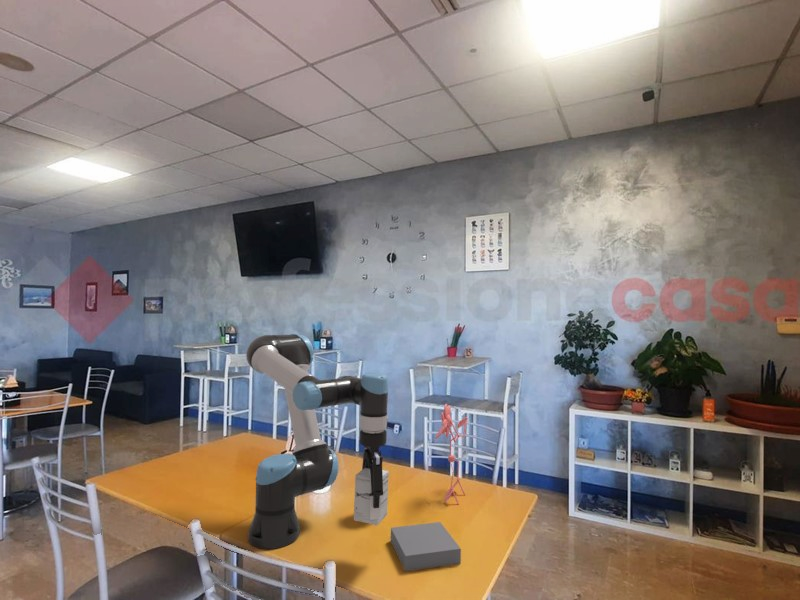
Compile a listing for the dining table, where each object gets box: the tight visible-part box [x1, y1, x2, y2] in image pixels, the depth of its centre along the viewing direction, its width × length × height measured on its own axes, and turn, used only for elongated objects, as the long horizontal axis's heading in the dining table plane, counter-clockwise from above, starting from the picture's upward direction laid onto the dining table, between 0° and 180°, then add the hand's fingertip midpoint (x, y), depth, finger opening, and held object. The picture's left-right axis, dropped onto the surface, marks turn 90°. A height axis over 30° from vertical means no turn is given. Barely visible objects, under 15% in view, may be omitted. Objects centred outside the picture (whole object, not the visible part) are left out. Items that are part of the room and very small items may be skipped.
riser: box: [390, 521, 462, 572], centre depth 125 cm, size 16×16×4 cm
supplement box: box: [353, 468, 390, 526], centre depth 121 cm, size 7×7×13 cm
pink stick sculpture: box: [424, 403, 471, 506], centre depth 165 cm, size 15×26×35 cm, turn 157°
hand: (371, 509), depth 121 cm, fingers closed on supplement box, 10 cm apart
